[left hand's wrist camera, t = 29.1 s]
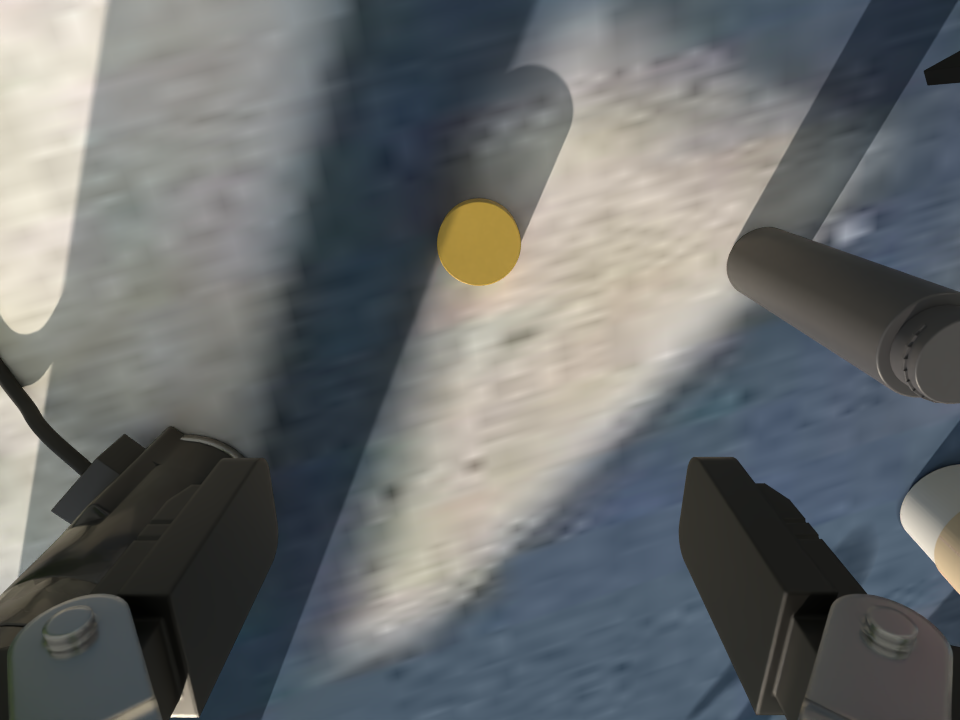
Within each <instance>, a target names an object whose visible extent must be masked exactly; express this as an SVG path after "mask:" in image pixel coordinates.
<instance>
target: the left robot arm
mask: <svg viewBox="0 0 960 720" xmlns="http://www.w3.org/2000/svg"><path fill="white" fill-rule="evenodd" d="M0 385H1V387H2V388H3V389H4V391H5V392H6V393H7V395H8V396H9V397H10V398H11V400H12V401H13V402H14V403H15V405H16V406H17V407H18V408H19V410H20V411H21V413H22V415H23V417H24V419H25V420H26V422H27V424H28V425H29V427H30V428H31V429H32V431H33V432H34V433H35V434H36V435H37V436H38V437H39V438H40V439H41V441H42V442H43V443H44V444H45V445H47V446H48V447H49V448H50V449H51V450H52V451H53V452H54V453H55V454H56V455H58V456H59V457H60V458H61V459H62V460H63V461H65V462H66V463H67V464H68V465H69V466H70V467H71V468H73V469H74V470H75V471H76V472H77V473H78V474H79V475H81V477H80V478H79V479H78V480H77V481H76V482H75V484H74V485H73V486H72V487H71V488H70V489H69V491H68V492H67V493H66V494H65V495H64V496H63V497H62V499H61V500H60V501H59V502H58V503H57V504H56V505H55V507H54V508H53V509H52V510H51V511H52V512H53V513H55V514H56V515H58V516H59V517H61V518H62V519H64V520H65V521H67V522H68V523H70V524H71V525H70V526H69V527H68V528H67V529H66V531H65V532H64V533H63V534H62V535H61V536H60V537H59V538H58V539H57V540H56V541H55V542H54V543H53V544H52V545H51V546H50V547H49V548H48V549H47V550H46V551H45V552H44V553H43V554H42V555H41V556H40V557H39V558H38V559H37V560H36V561H35V562H34V563H33V564H32V565H31V566H30V567H29V568H28V569H27V570H26V571H25V572H24V573H23V574H22V575H21V576H20V577H19V578H18V579H17V580H16V581H15V582H14V583H12V584H11V585H10V586H9V587H8V588H7V589H6V590H5V591H4V592H3V593H2V594H1V595H0V720H169V719H170V717H200V715H201V712H202V710H203V708H204V706H205V704H206V702H207V700H208V698H209V696H210V693H211V691H212V689H213V687H214V685H215V683H216V681H217V679H218V677H219V674H220V672H221V670H222V668H223V666H224V664H225V662H226V660H227V658H228V655H229V653H230V651H231V649H232V647H233V645H234V643H235V641H236V639H237V636H238V634H239V632H240V630H241V628H242V626H243V624H244V622H245V620H246V617H247V615H248V613H249V611H250V609H251V607H252V605H253V603H254V601H255V598H256V596H257V594H258V592H259V590H260V588H261V586H262V584H263V582H264V579H265V577H266V575H267V573H268V571H269V569H270V567H271V565H272V563H273V560H274V557H275V554H276V550H277V543H278V524H277V517H276V511H275V504H274V497H273V490H272V484H271V477H270V471H269V466H268V463H267V461H266V460H265V459H264V458H244V457H243V456H242V455H241V454H240V453H238V452H237V451H236V450H234V449H233V448H231V447H230V446H228V445H226V444H224V443H222V442H220V441H217V440H215V439H212V438H208V437H204V436H198V435H184V434H183V433H181V432H179V431H178V430H176V429H175V428H174V427H168V428H167V429H166V430H165V431H164V432H163V433H162V434H161V435H160V436H159V437H158V438H157V439H156V440H155V441H154V442H153V443H152V444H151V445H150V446H149V447H148V448H147V449H145V448H144V447H142V446H141V445H139V444H138V443H137V442H135V441H134V440H133V439H131V438H130V437H128V436H127V435H126V434H124V435H123V436H121V437H120V438H119V439H118V440H117V441H116V442H115V443H113V444H112V445H111V446H110V447H109V448H108V449H107V450H105V451H104V452H103V453H102V454H101V455H100V456H99V457H97V458H96V459H95V461H94V462H93V463H90V462H89V461H88V460H87V459H86V458H85V457H84V456H82V455H81V454H80V453H79V452H78V451H77V450H75V449H74V448H73V447H72V446H71V445H70V444H68V443H67V442H66V441H65V440H64V439H63V438H62V437H61V436H60V435H59V434H58V433H57V432H55V431H54V429H53V428H52V427H51V426H50V425H49V424H48V423H47V422H46V421H45V419H44V418H43V417H42V415H41V413H40V411H39V410H38V408H37V406H36V405H35V404H34V402H33V401H32V399H31V398H30V397H29V396H28V394H27V393H26V392H25V391H24V390H23V388H22V387H21V386H20V384H19V383H18V382H17V380H16V379H15V378H14V376H13V375H12V374H11V372H10V371H9V370H8V368H7V367H6V365H5V364H4V363H3V361H2V360H1V359H0ZM679 542H680V549H681V553H682V556H683V559H684V562H685V564H686V566H687V568H688V570H689V572H690V574H691V576H692V579H693V581H694V583H695V585H696V587H697V589H698V591H699V594H700V596H701V598H702V600H703V602H704V604H705V606H706V609H707V611H708V613H709V615H710V617H711V619H712V621H713V624H714V626H715V628H716V630H717V632H718V634H719V636H720V638H721V641H722V643H723V645H724V647H725V649H726V651H727V653H728V656H729V658H730V660H731V662H732V664H733V666H734V668H735V671H736V673H737V675H738V677H739V679H740V681H741V683H742V686H743V688H744V690H745V692H746V694H747V696H748V698H749V700H750V703H751V705H752V707H753V709H754V711H755V713H756V715H785V716H786V718H787V720H960V647H956V646H952V645H950V644H949V642H948V641H947V639H946V638H945V636H944V635H943V634H942V633H941V632H940V630H939V629H938V628H937V627H935V626H934V625H933V624H932V623H931V622H930V621H929V620H927V619H926V618H925V617H923V616H922V615H920V614H919V613H917V612H915V611H914V610H912V609H910V608H908V607H906V606H904V605H902V604H900V603H897V602H895V601H892V600H889V599H886V598H883V597H879V596H875V595H869V594H867V593H866V592H865V591H864V589H863V588H862V587H861V586H860V585H859V583H858V582H857V581H856V580H855V579H854V577H853V576H852V575H851V574H850V572H849V571H848V570H847V569H846V568H845V566H844V565H843V564H842V563H841V562H840V560H839V559H838V558H837V557H836V555H835V554H834V553H833V552H832V551H831V549H830V548H829V547H828V546H827V545H826V543H825V542H824V541H823V540H822V539H819V537H818V534H817V532H816V531H815V530H814V529H813V528H812V526H811V525H810V524H809V523H806V522H805V518H804V517H803V515H802V514H801V513H800V512H799V511H798V509H797V508H796V507H795V506H794V505H793V503H792V502H791V501H790V500H789V499H788V498H786V497H785V496H783V495H782V494H780V493H779V492H777V491H776V490H774V489H773V488H771V487H769V486H768V485H766V484H765V483H755V482H754V481H753V480H752V478H751V477H750V476H749V475H748V473H747V472H746V471H745V469H744V468H743V467H742V465H741V464H740V463H739V461H738V460H737V459H736V458H734V457H693V458H692V459H691V460H690V462H689V464H688V469H687V475H686V482H685V489H684V495H683V502H682V509H681V516H680V523H679Z"/></svg>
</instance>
